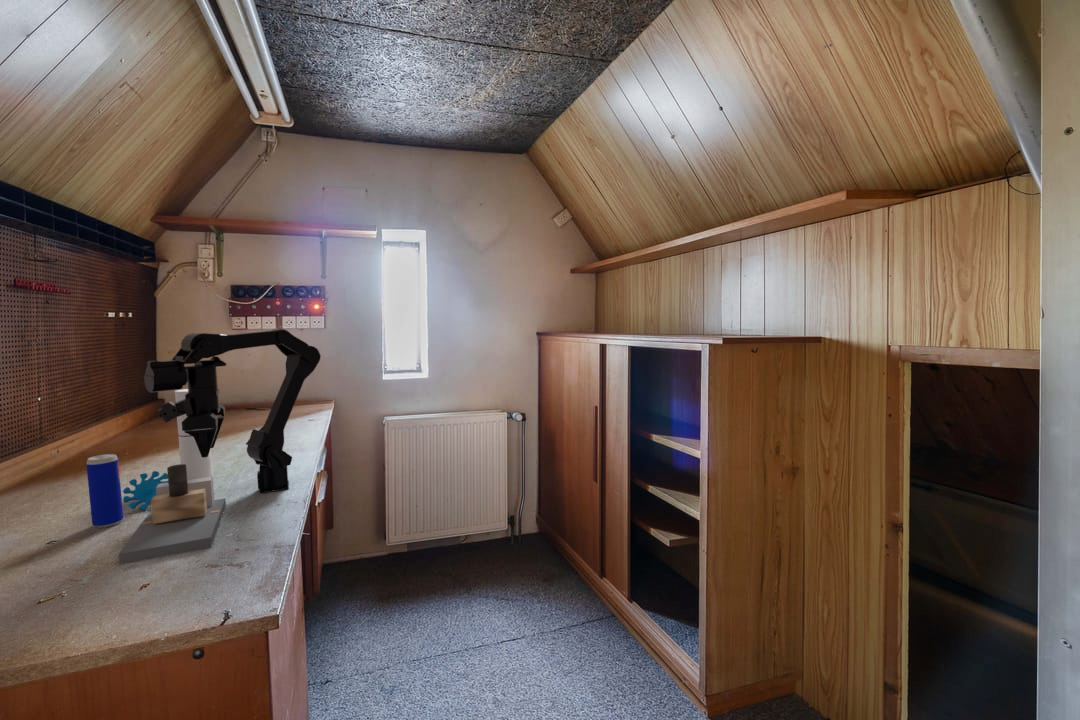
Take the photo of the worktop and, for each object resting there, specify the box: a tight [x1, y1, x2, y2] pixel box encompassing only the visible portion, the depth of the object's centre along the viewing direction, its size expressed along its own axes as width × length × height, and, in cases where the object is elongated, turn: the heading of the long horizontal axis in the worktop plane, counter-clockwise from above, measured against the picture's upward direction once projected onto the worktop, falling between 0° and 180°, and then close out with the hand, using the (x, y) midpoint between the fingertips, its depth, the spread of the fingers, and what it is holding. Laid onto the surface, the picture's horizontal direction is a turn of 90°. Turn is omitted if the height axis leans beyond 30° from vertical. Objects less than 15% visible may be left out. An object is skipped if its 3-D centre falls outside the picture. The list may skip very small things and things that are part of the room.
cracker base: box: [117, 476, 227, 565], centre depth 103 cm, size 14×24×8 cm, turn 27°
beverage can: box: [85, 453, 124, 528], centre depth 107 cm, size 5×5×15 cm
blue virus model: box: [122, 470, 168, 511], centre depth 120 cm, size 11×6×10 cm
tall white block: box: [174, 388, 213, 480], centre depth 139 cm, size 7×7×25 cm
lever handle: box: [150, 463, 207, 524], centre depth 104 cm, size 9×3×11 cm, turn 117°
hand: (207, 452), depth 116 cm, fingers open, 9 cm apart
